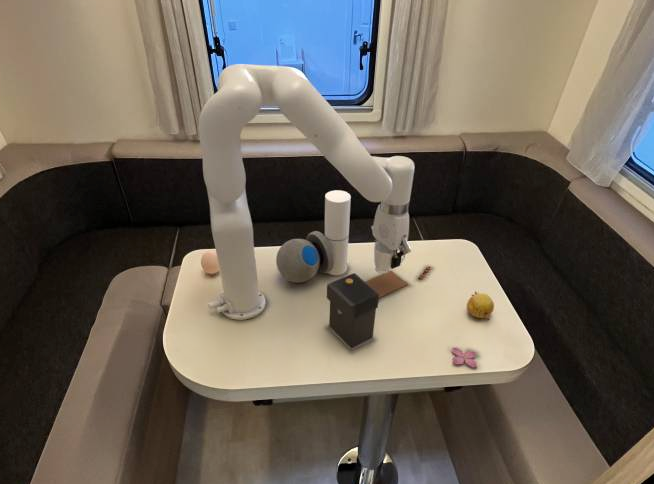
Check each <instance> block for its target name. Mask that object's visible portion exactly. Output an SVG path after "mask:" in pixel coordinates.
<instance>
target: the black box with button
mask: <svg viewBox="0 0 654 484" xmlns="http://www.w3.org/2000/svg"><path fill="white" fill-rule="evenodd" d="M326 299H327V300H328V302H329V317H328V318H329V319H328V320H329V321H328V322H329V324H328V329H329V330H330V331H331V332H332V333H333V334H334V335H335V336H336V337H337V338H338V339H339V340H340V341H341V343H343V344H344V346H346V347H347V349H349V350H350V351H351V352H352V351H354V350H356V349H358V348H360V347H362V346H364V345H366V344H368V343H370V342H372V341H373V340H374V330H375V322H376V313H377V309H378V308H379V301H380V298H379V293H378V292H377V291H375V290H374V289H373V288H372V287H371V286H369V285H368V284H367V283H366V281H365V280H363V278H361V277H360V276H359V275H357V274H356V273H355V272H353V273H351V274H349V275H346V276H344V277H341V278H339V279H336V280H334V281H332V282H329V283H327V284H326Z"/></svg>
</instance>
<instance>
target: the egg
mask: <svg viewBox="0 0 654 484" xmlns="http://www.w3.org/2000/svg"><path fill="white" fill-rule="evenodd" d="M200 265H201V268H202V270H203V271H204V272H205V273H207V274H208V275H214V274H216V273H218V272H220V269H219V264H218V259H217V254H216V251H212V250H208V251H205V252H204V253H203V255H202V256H201V259H200Z"/></svg>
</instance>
